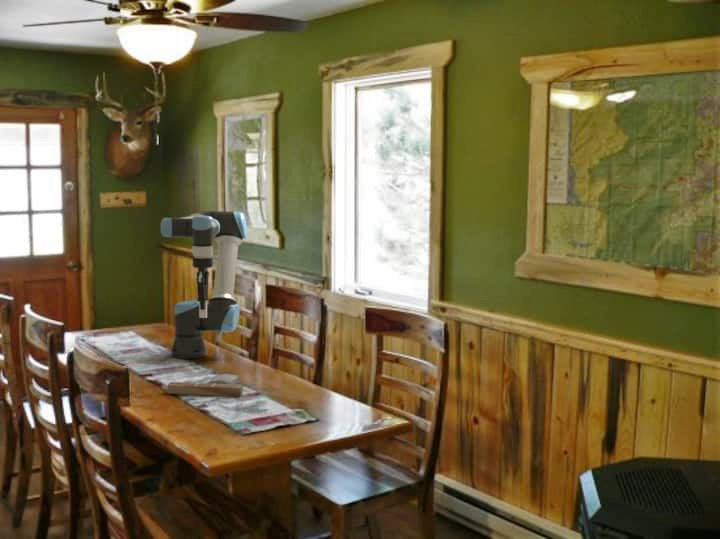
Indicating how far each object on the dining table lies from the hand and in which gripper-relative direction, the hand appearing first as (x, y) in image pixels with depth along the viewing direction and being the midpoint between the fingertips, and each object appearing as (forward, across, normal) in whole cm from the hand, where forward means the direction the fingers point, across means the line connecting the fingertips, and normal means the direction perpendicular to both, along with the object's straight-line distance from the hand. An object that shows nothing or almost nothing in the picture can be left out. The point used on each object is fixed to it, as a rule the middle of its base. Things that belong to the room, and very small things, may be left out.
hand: (203, 317), depth 301 cm
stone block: (+22, +17, +10) cm, 30 cm away
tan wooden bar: (+22, +26, +5) cm, 35 cm away
